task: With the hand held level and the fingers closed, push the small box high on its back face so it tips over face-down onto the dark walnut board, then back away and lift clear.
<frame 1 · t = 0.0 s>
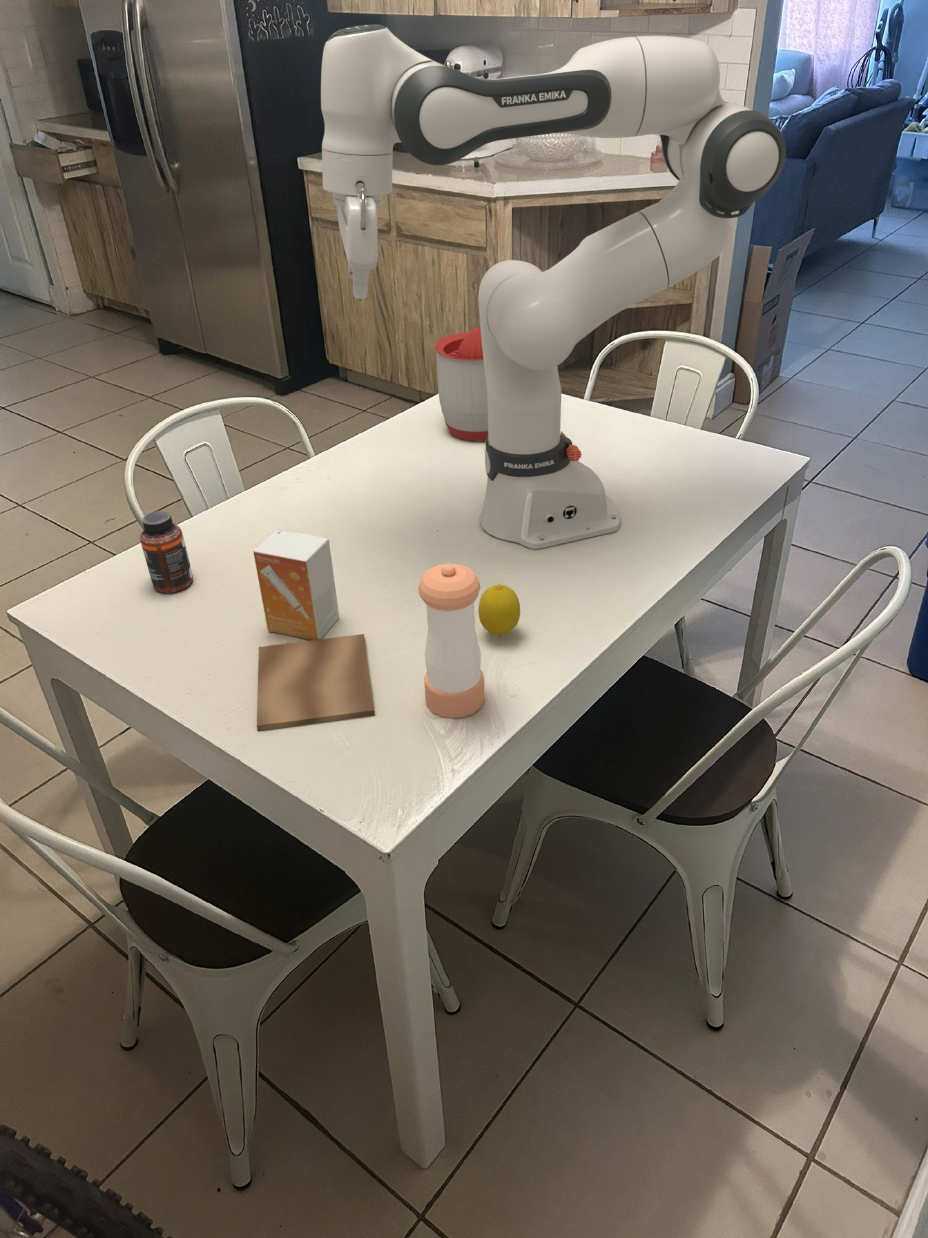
hand: (357, 287, 125), 39 cm above the table, tool pointing down, fingers open, 8 cm apart
walnut board: (314, 681, 117), on the table
supplement bottle: (174, 585, 138), on the table
pepper shaker: (455, 700, 114), on the table
small box: (304, 626, 128), on the table
lemon: (499, 636, 124), on the table
citrus juicer: (482, 431, 180), on the table
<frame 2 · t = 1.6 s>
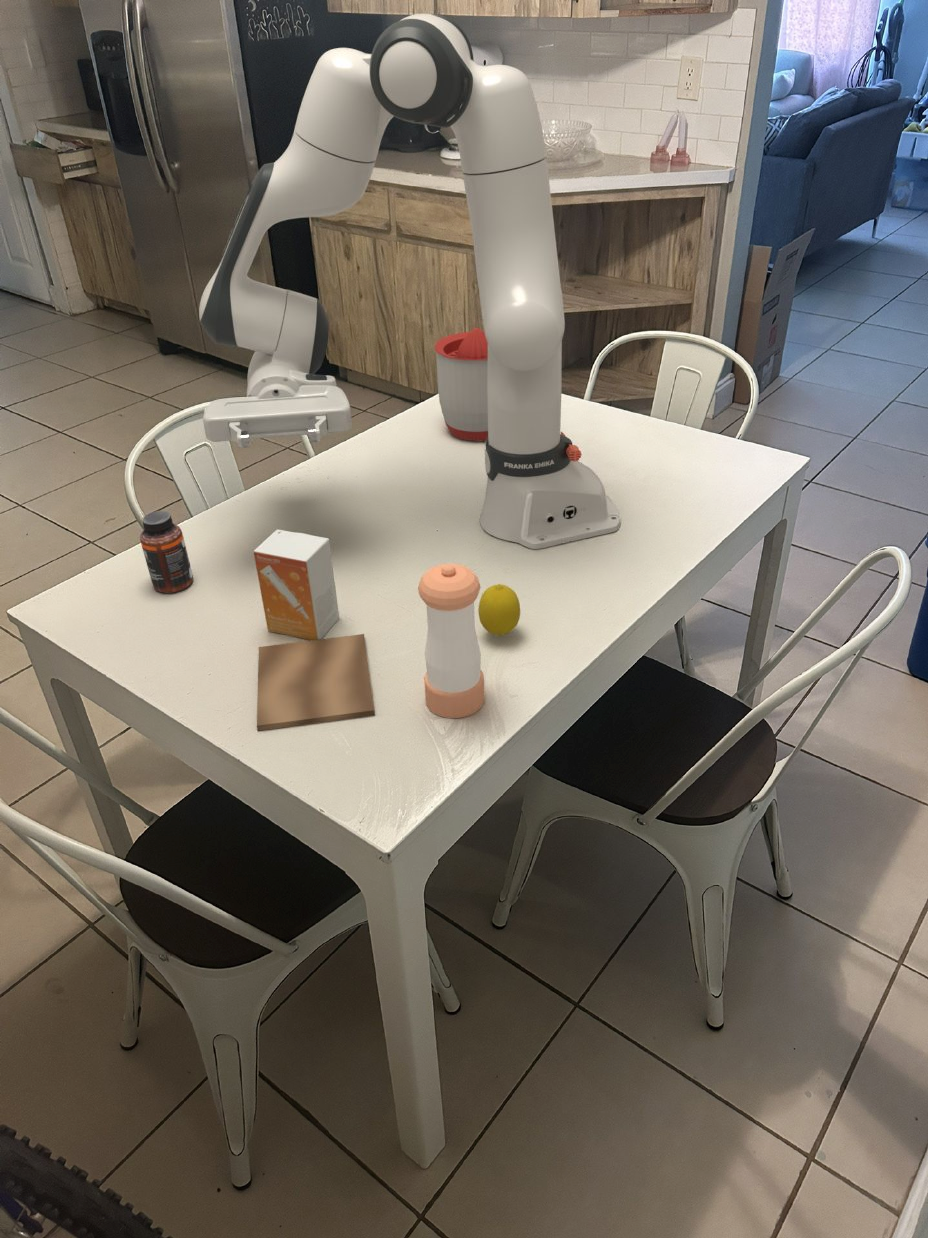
hand: (279, 439, 124), 23 cm above the table, tool horizontal, fingers open, 8 cm apart
nothing on the table moved.
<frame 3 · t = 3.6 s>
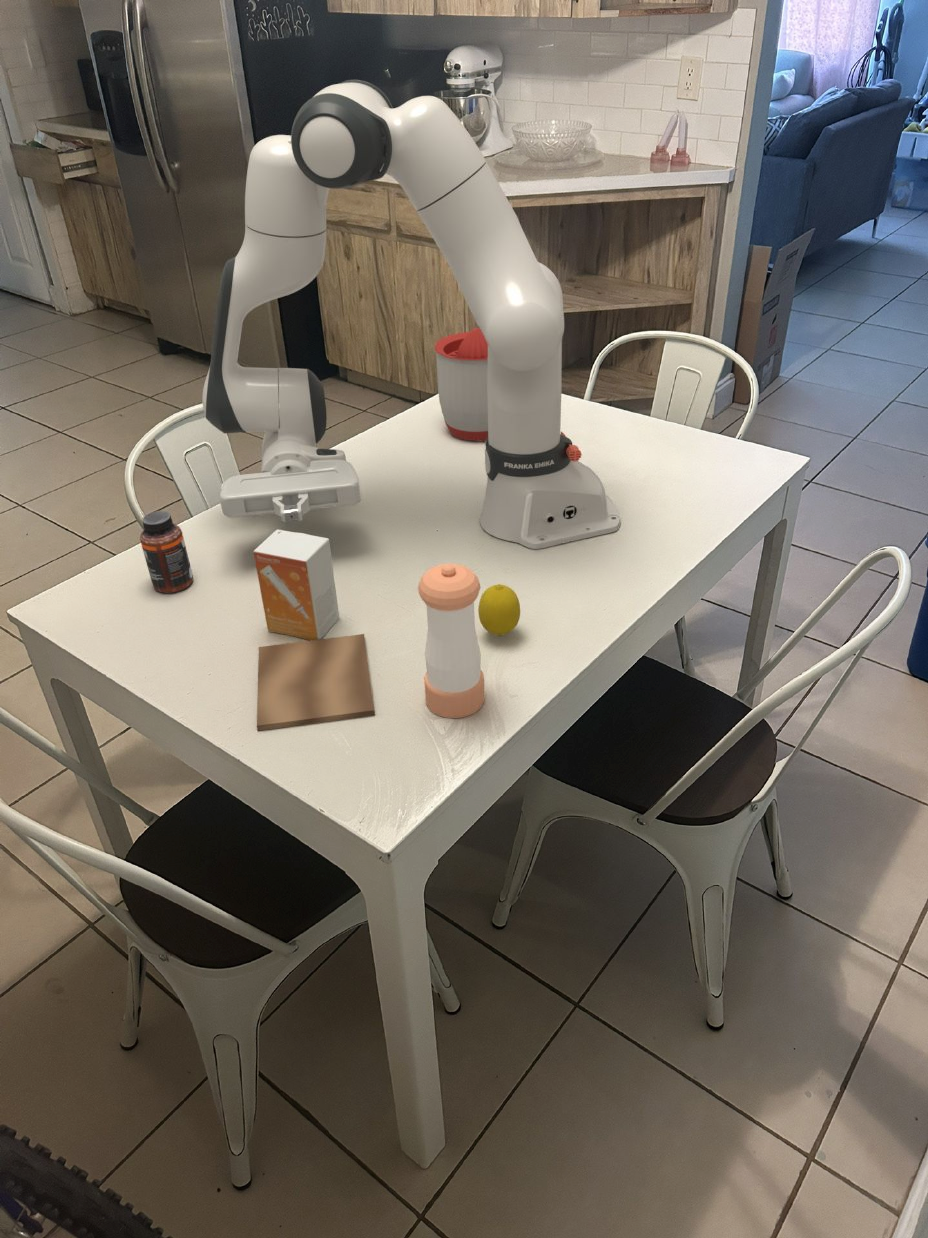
hand: (291, 516, 130), 11 cm above the table, tool horizontal, fingers closed
nothing on the table moved.
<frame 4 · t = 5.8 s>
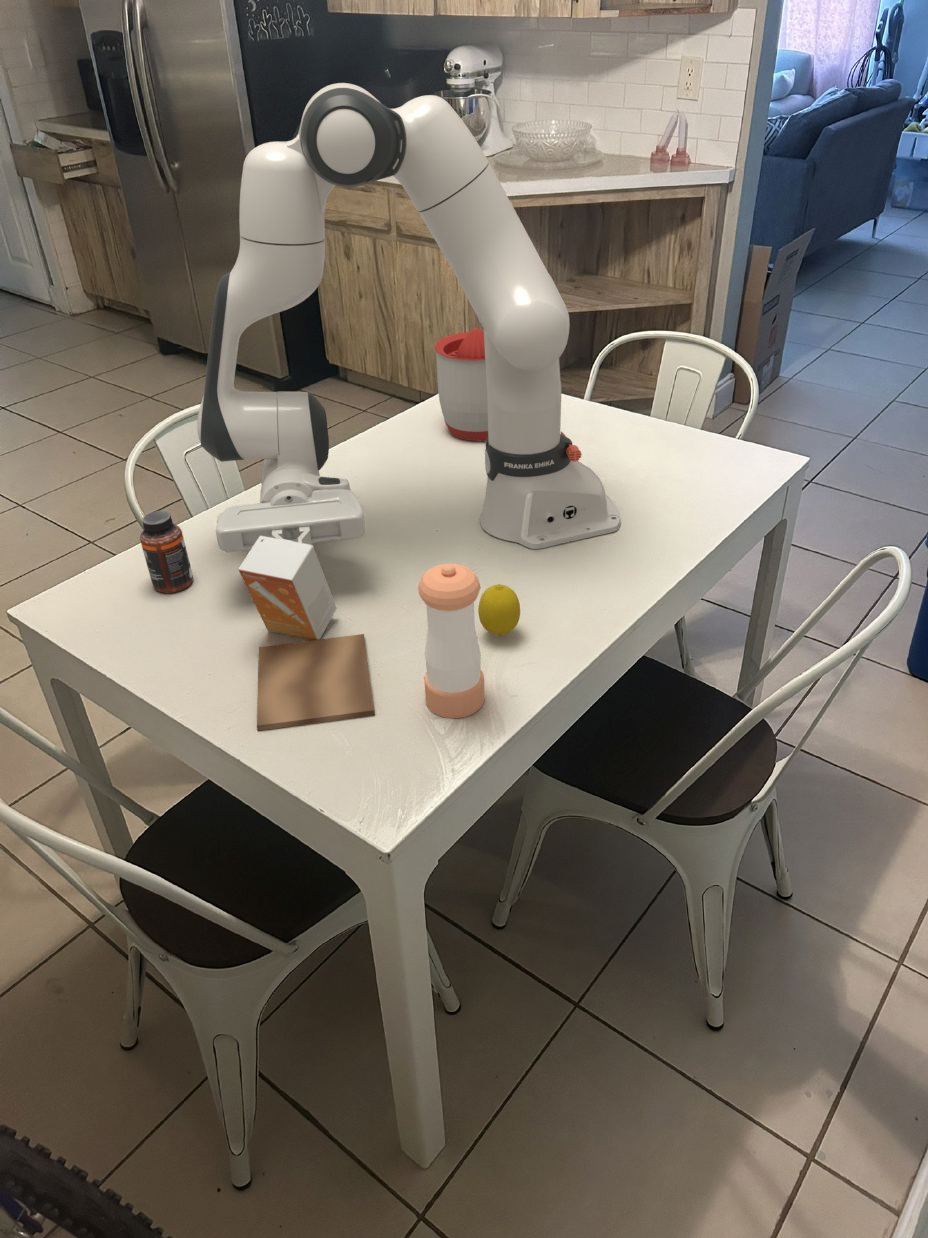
hand: (292, 552, 122), 11 cm above the table, tool horizontal, fingers closed
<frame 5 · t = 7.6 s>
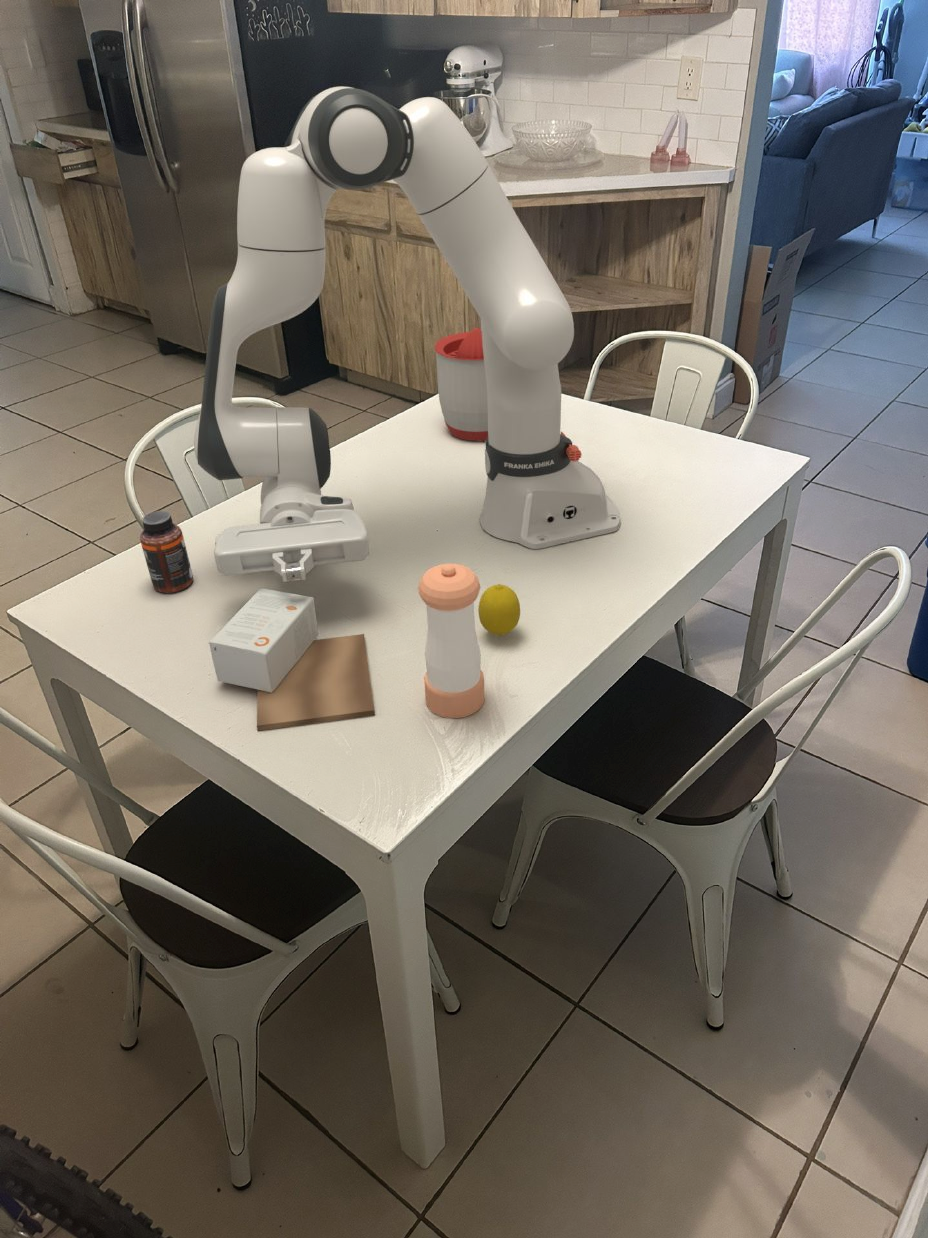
hand: (293, 576, 117), 11 cm above the table, tool horizontal, fingers closed
small box: (291, 610, 124), point 4 cm above the table, touching walnut board
everything else where it was.
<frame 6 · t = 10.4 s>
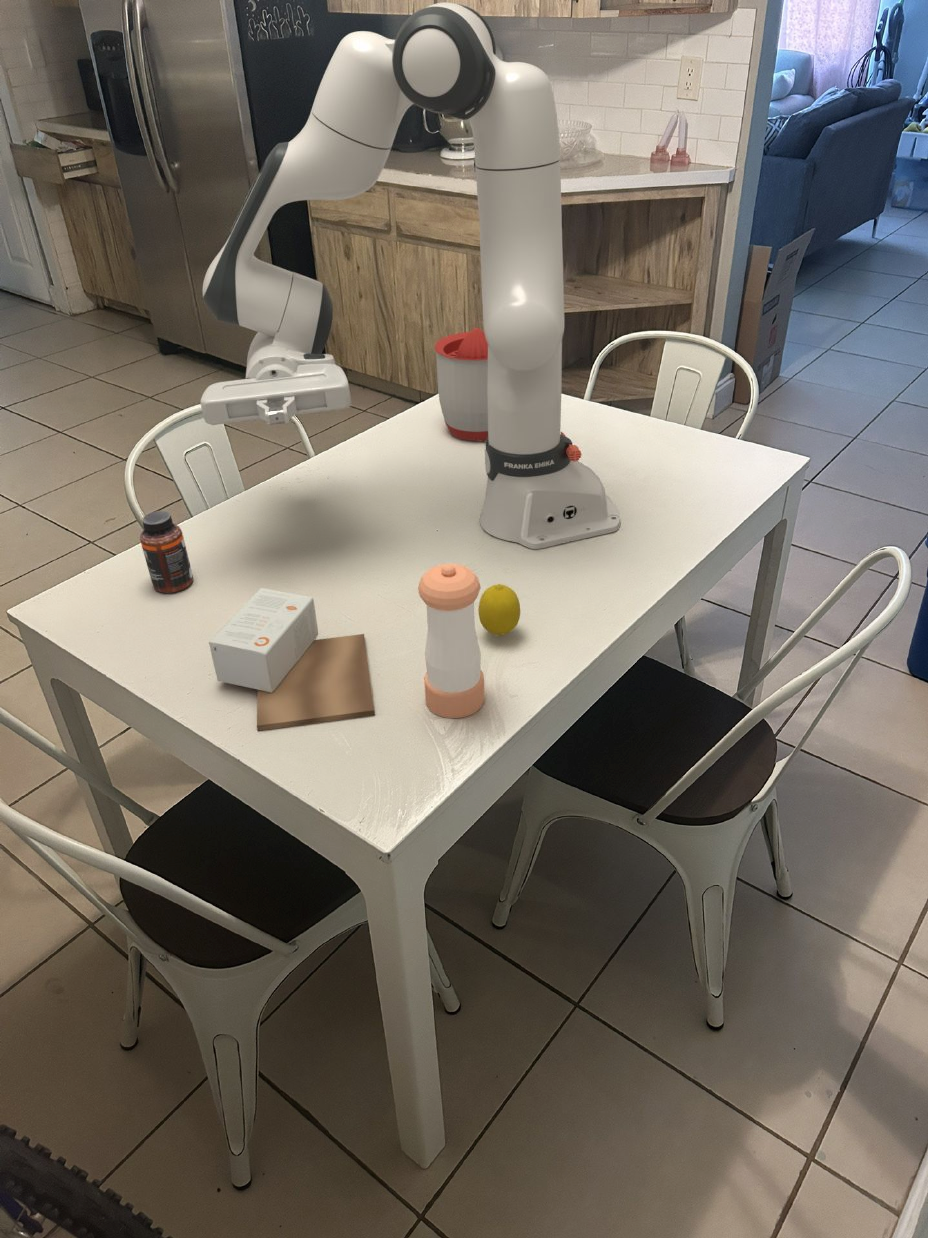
hand: (276, 418, 122), 26 cm above the table, tool horizontal, fingers closed
nothing on the table moved.
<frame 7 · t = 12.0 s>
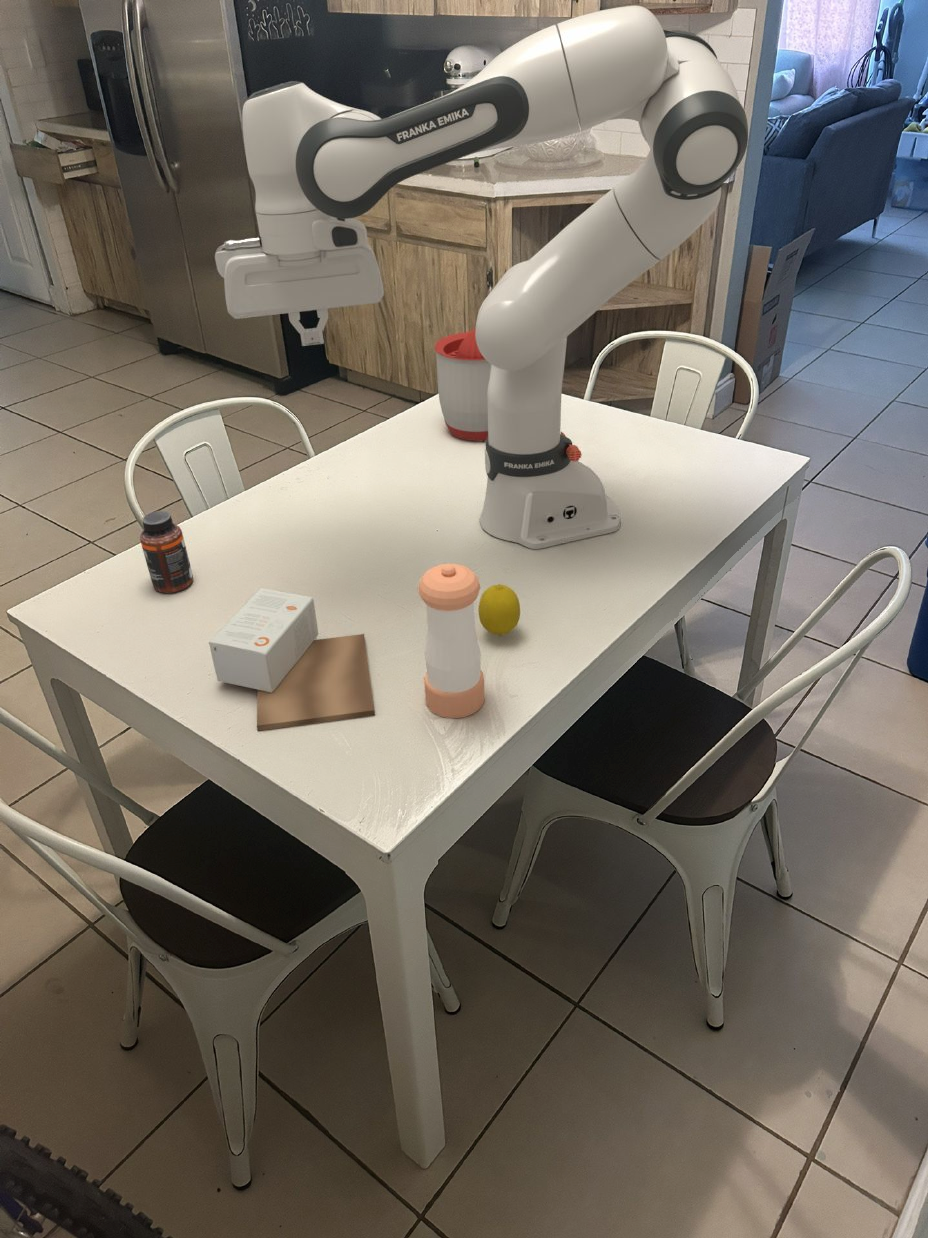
hand: (313, 343, 123), 33 cm above the table, tool pointing down, fingers closed
nothing on the table moved.
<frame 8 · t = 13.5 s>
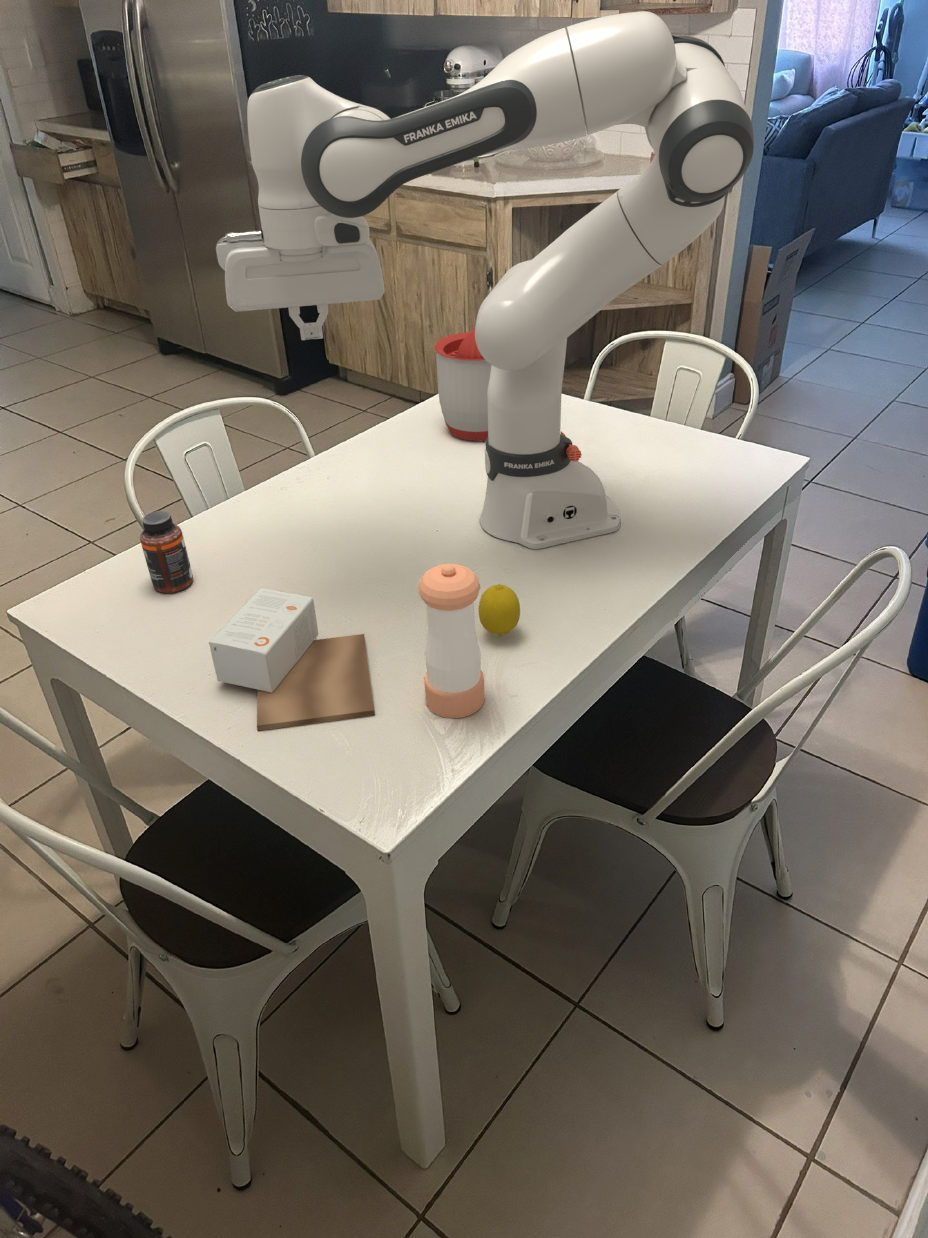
hand: (312, 338, 123), 34 cm above the table, tool pointing down, fingers closed
nothing on the table moved.
at the end: small box tilted 89°; small box touching walnut board; small box inside the target area (3.8 cm from its centre), point 3.8 cm above the table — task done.
